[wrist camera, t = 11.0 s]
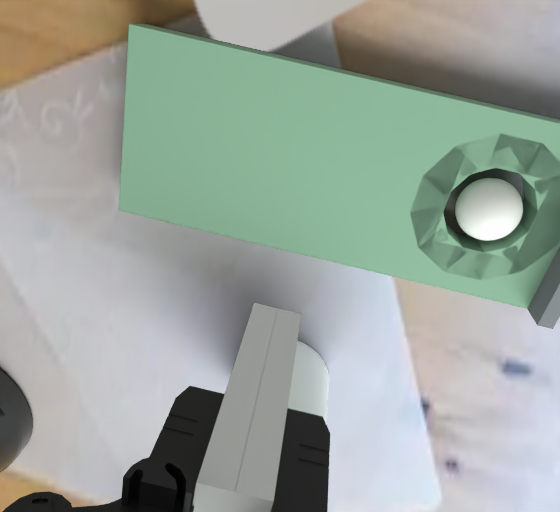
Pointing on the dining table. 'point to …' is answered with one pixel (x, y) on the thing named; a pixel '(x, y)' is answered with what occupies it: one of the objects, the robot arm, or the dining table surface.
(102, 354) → the dining table surface
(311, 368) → the cup
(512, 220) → the ball
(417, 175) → the green
